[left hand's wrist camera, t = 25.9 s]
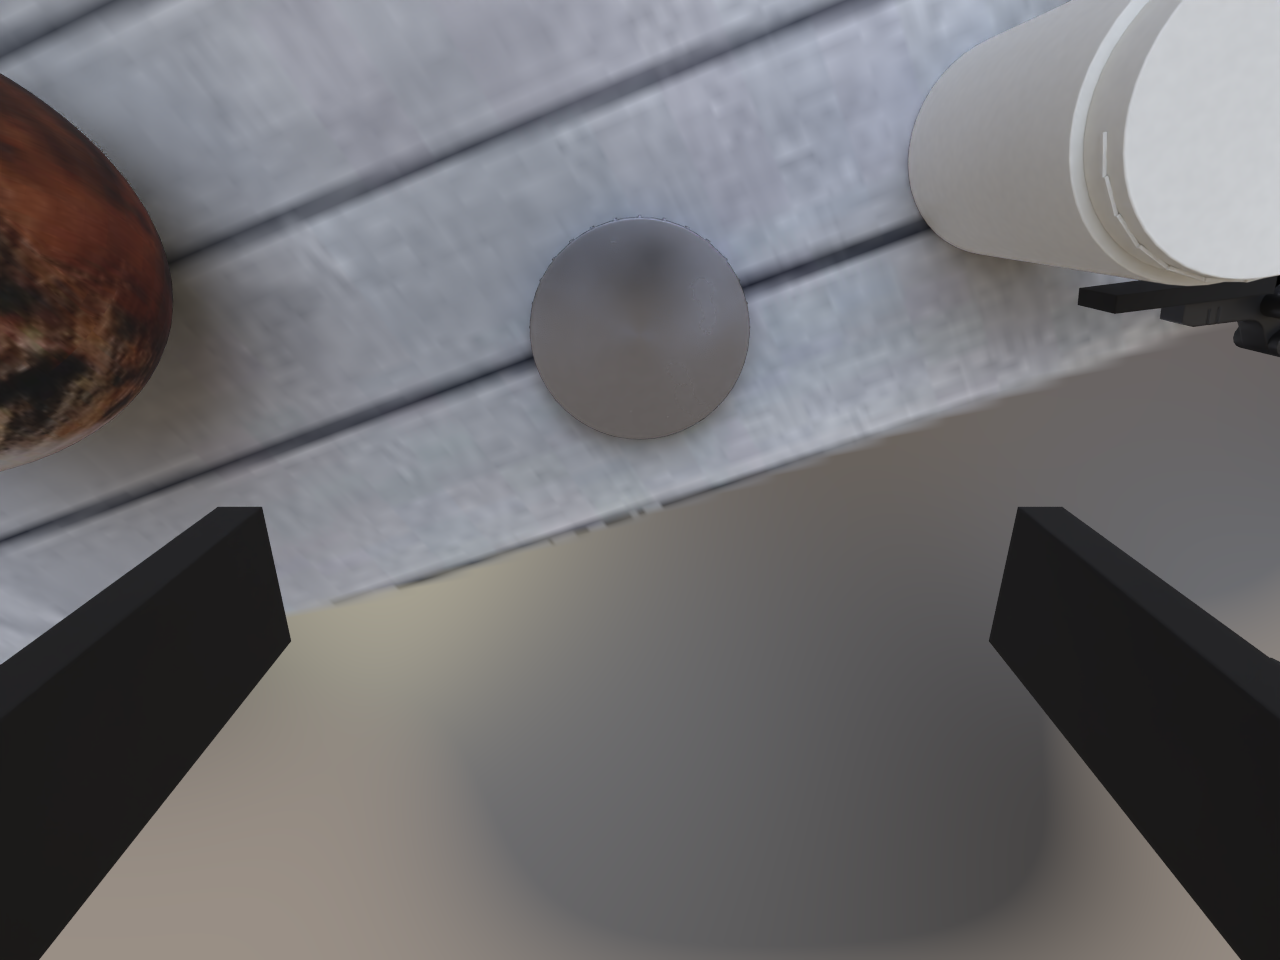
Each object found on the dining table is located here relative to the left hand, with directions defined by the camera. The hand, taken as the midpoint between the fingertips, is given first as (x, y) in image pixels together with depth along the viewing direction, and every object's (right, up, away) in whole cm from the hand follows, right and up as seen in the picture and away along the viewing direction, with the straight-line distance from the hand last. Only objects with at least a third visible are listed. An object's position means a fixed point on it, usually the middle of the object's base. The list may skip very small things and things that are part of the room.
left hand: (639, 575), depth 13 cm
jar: (+18, +18, +21) cm, 33 cm away
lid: (0, +9, +23) cm, 25 cm away
